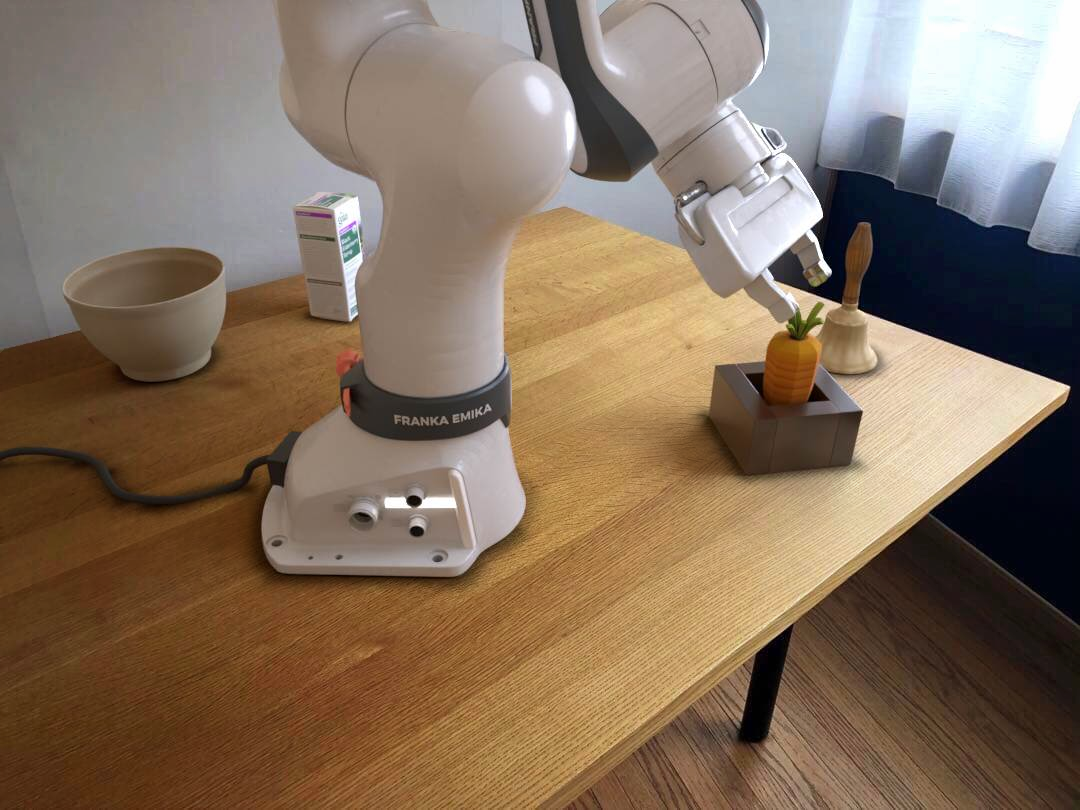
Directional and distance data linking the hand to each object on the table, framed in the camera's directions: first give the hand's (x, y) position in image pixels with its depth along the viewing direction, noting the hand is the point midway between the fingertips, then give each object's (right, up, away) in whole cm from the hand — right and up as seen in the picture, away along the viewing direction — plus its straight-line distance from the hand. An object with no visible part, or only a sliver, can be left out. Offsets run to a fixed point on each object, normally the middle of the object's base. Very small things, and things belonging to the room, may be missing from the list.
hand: (807, 298), depth 76 cm
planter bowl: (-66, -5, +21) cm, 69 cm away
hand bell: (+11, -4, +23) cm, 26 cm away
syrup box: (-49, +2, +33) cm, 59 cm away
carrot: (0, -13, +8) cm, 15 cm away
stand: (0, -13, +8) cm, 15 cm away
